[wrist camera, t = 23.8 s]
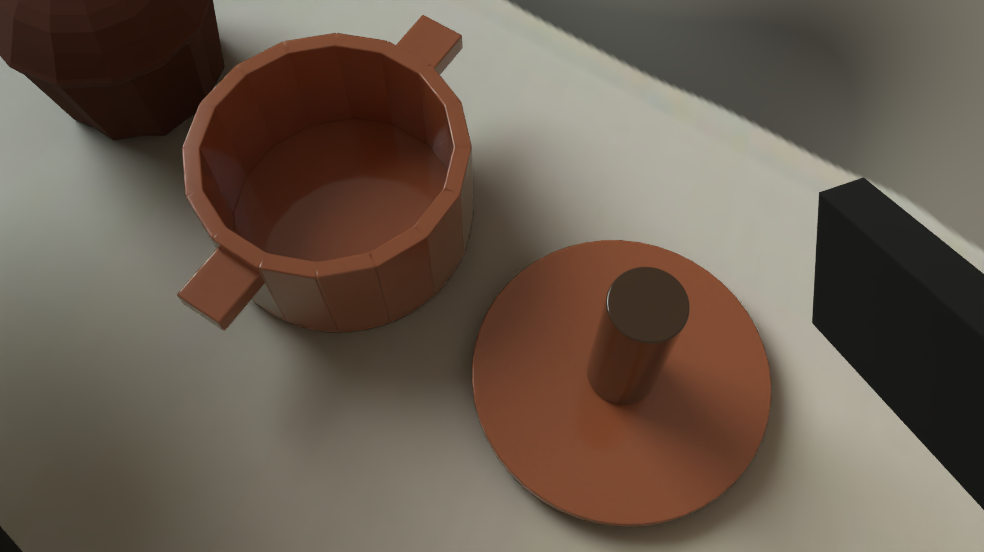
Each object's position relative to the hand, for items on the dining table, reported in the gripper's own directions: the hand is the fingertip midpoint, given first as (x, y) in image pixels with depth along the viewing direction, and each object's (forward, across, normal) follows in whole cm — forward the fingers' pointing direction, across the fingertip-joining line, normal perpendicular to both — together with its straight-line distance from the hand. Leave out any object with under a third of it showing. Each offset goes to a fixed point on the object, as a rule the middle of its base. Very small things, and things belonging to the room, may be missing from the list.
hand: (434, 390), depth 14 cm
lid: (+19, +9, -21) cm, 30 cm away
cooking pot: (+30, -1, -16) cm, 34 cm away
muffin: (+41, -9, -10) cm, 43 cm away
